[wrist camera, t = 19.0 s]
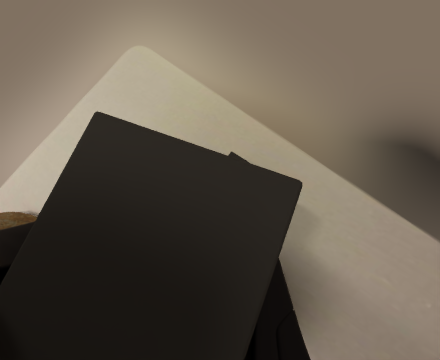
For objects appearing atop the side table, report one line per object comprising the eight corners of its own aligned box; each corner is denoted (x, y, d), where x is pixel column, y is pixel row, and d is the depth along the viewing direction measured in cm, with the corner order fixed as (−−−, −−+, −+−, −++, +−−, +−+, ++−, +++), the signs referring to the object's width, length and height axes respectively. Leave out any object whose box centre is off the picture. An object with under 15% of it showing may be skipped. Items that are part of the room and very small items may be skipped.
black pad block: (234, 270, 14) (184, 543, 2) (184, 245, 15) (-41, 352, 3) (256, 209, 15) (305, 181, 3) (207, 190, 15) (94, 108, 4)
